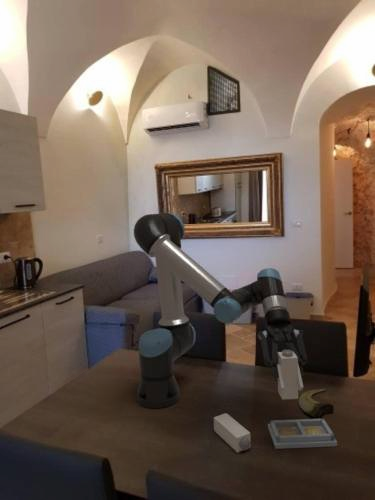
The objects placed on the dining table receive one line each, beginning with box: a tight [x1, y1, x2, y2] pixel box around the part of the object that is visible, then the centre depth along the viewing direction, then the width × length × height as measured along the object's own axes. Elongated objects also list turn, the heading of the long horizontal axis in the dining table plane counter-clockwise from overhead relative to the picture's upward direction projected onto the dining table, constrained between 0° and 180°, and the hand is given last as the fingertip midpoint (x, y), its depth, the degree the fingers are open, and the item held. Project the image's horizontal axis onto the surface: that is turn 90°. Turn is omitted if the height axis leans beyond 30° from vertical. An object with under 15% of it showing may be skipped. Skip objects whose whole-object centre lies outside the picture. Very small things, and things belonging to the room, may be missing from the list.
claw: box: [298, 388, 335, 419], centre depth 129 cm, size 20×10×3 cm, turn 172°
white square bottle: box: [277, 348, 299, 401], centre depth 110 cm, size 4×4×13 cm
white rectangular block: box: [213, 413, 252, 454], centre depth 112 cm, size 13×4×4 cm, turn 28°
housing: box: [267, 418, 338, 450], centre depth 112 cm, size 17×10×3 cm, turn 90°
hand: (291, 388), depth 107 cm, fingers closed on white square bottle, 4 cm apart
